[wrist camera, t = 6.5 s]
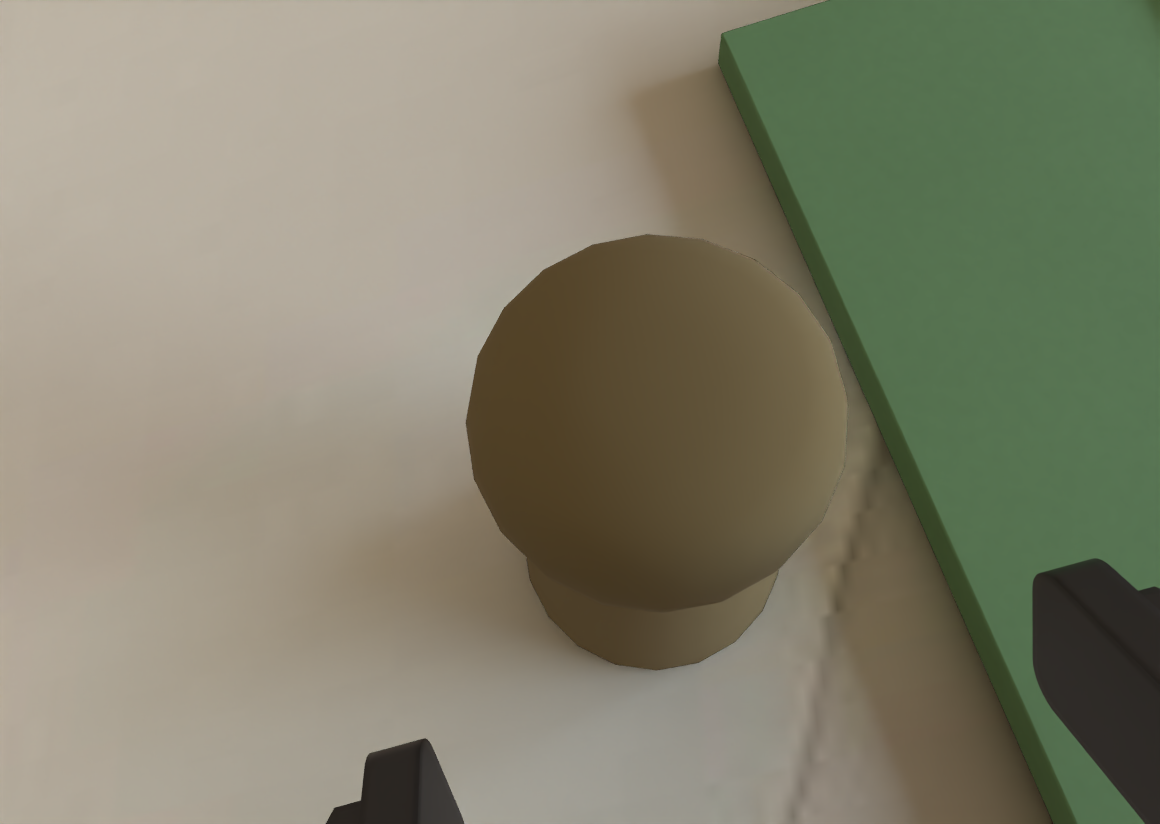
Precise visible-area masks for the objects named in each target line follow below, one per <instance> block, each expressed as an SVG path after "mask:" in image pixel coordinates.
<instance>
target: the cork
mask: <svg viewBox="0 0 1160 824" xmlns="http://www.w3.org/2000/svg"><path fill="white" fill-rule="evenodd" d="M847 418H848V403H847V395H846V391H845V388H844V384H843V381H842V377H841V374H840V370H839V367H838V363H837V360H836V356H835V353H834V349H833V346H832V342H831V340H830V338H829V337H828V336H827V334H826V333H825V331H824V330H823V328H822V327H821V325H820V324H819V322H818V321H817V320H816V318H815V317H814V315H813V314H812V312H811V311H810V309H809V308H808V306H807V305H806V303H805V302H804V301H803V299H802V298H801V296H800V295H799V294H798V293H797V292H796V291H794V290H793V289H792V288H791V287H789V286H788V285H787V284H785V283H784V282H783V281H782V280H780V279H779V278H778V277H777V276H775V275H774V274H773V273H771V272H770V271H769V270H768V269H766V268H765V267H764V266H762V265H761V264H760V263H759V262H757V261H756V260H755V259H752V258H750V257H747V256H744V255H742V254H739V253H737V252H734V251H732V250H729V249H726V248H724V247H721V246H719V245H716V244H714V243H711V242H709V241H706V240H703V239H695V238H683V237H672V236H661V235H650V234H646V235H641V236H635V237H630V238H625V239H620V240H615V241H610V242H604V243H599V244H594V245H591V246H589V247H587V248H585V249H583V250H581V251H579V252H577V253H576V254H574V255H572V256H570V257H568V258H566V259H564V260H562V261H560V262H558V263H556V264H554V265H552V266H550V267H548V268H546V269H544V270H543V271H542V272H541V273H540V274H539V275H538V276H537V277H536V278H535V279H534V280H532V281H531V282H530V283H529V284H528V285H527V286H526V287H525V288H524V289H523V290H522V291H521V292H520V293H519V294H518V295H517V296H516V297H515V298H514V299H513V300H512V301H511V302H510V303H509V304H508V305H507V306H506V307H505V308H504V309H503V311H502V312H501V314H500V316H499V318H498V320H497V322H496V324H495V325H494V327H493V329H492V331H491V333H490V335H489V336H488V338H487V340H486V342H485V344H484V346H483V347H482V349H481V351H480V353H479V355H478V358H477V363H476V369H475V374H474V379H473V385H472V390H471V396H470V401H469V407H468V412H467V419H466V428H467V434H468V441H469V448H470V455H471V462H472V469H473V476H474V480H475V482H476V484H477V486H478V488H479V490H480V492H481V494H482V496H483V498H484V500H485V502H486V504H487V506H488V508H489V509H490V511H491V513H492V515H493V517H494V519H495V521H496V523H497V525H498V527H499V529H500V531H501V532H502V533H503V534H504V535H505V536H506V537H507V538H508V539H509V540H510V541H511V542H512V543H513V544H514V545H515V546H516V547H517V548H518V549H519V550H520V551H521V552H522V553H523V554H524V555H525V556H526V557H527V564H528V570H529V576H530V581H531V583H532V585H533V587H534V589H535V591H536V593H537V595H538V597H539V599H540V601H541V603H542V605H543V606H544V608H545V610H546V612H547V614H548V616H549V617H550V618H551V619H552V620H553V621H554V622H555V623H556V624H557V625H558V626H559V627H560V628H561V629H562V630H563V631H564V632H565V633H566V634H567V635H568V636H569V637H570V638H571V639H572V640H573V641H574V642H575V643H576V644H577V645H578V646H579V647H582V648H584V649H586V650H588V651H590V652H592V653H594V654H596V655H598V656H600V657H602V658H604V659H606V660H608V661H610V662H612V663H614V664H616V665H623V666H630V667H637V668H644V669H652V670H661V669H667V668H672V667H677V666H683V665H688V664H693V663H699V662H700V661H702V660H704V659H706V658H707V657H709V656H711V655H713V654H715V653H716V652H718V651H720V650H722V649H723V648H725V647H727V646H729V645H730V644H732V643H734V642H735V641H736V640H737V639H738V638H739V637H740V636H741V635H742V633H743V632H744V631H745V630H746V629H747V628H748V627H749V626H750V624H751V623H752V622H753V621H754V620H755V619H756V618H757V617H758V615H759V614H760V613H761V612H762V611H763V608H764V606H765V604H766V601H767V599H768V596H769V594H770V592H771V589H772V587H773V585H774V582H775V580H776V577H777V575H778V569H779V568H780V567H781V566H782V565H783V564H784V563H785V562H786V561H787V560H788V559H789V558H790V556H791V555H792V554H793V553H794V552H795V551H796V550H797V549H798V547H799V546H800V545H801V544H802V543H803V542H804V541H805V540H806V539H807V537H808V536H809V535H810V534H811V533H812V532H813V531H814V530H815V528H816V527H817V526H818V525H819V524H820V523H821V522H822V520H823V518H824V515H825V513H826V510H827V508H828V506H829V503H830V501H831V498H832V496H833V494H834V491H835V489H836V486H837V484H838V481H839V479H840V477H841V474H842V472H843V469H844V467H845V456H846V437H847Z"/></svg>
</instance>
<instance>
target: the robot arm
mask: <svg viewBox="0 0 1160 824" xmlns="http://www.w3.org/2000/svg"><path fill="white" fill-rule="evenodd" d="M1032 624H1033V667H1034V672H1035V676H1036V679H1037V682H1038V684H1039V687H1040V689H1041V691H1042V693H1043V695H1044V697H1045V699H1046V701H1047V703H1048V704H1049V706H1050V707H1051V709H1052V710H1053V711H1054V713H1055V714H1056V715H1057V716H1058V717H1059V719H1060V720H1061V721H1062V722H1063V724H1064V725H1065V726H1066V727H1067V729H1068V730H1069V731H1070V732H1071V733H1072V735H1073V736H1074V737H1075V738H1076V740H1077V741H1078V742H1079V743H1080V744H1081V746H1082V747H1083V748H1084V749H1085V751H1086V752H1087V753H1088V754H1089V755H1090V757H1091V758H1092V759H1093V760H1094V762H1095V763H1096V764H1097V765H1098V767H1099V768H1100V769H1101V770H1102V771H1103V773H1104V774H1105V775H1106V776H1107V778H1108V779H1109V780H1110V781H1111V782H1112V784H1113V785H1114V786H1115V787H1116V789H1117V790H1118V791H1119V792H1120V793H1121V795H1122V796H1123V797H1124V798H1125V800H1126V801H1127V802H1128V803H1129V805H1130V806H1131V807H1132V808H1133V809H1134V811H1135V812H1136V813H1137V814H1138V816H1139V817H1140V818H1141V819H1142V820H1143V822H1144V823H1145V824H1160V588H1157V587H1155V586H1153V587H1150V588H1146V589H1142V590H1139V591H1138V590H1137V589H1136V588H1135V587H1133V586H1132V585H1131V584H1130V583H1129V582H1128V581H1127V580H1126V579H1125V578H1123V577H1122V576H1121V575H1120V574H1119V573H1118V572H1117V571H1116V570H1115V569H1113V568H1112V567H1111V566H1110V565H1109V564H1108V563H1106V562H1105V561H1103V560H1101V559H1097V558H1093V559H1089V560H1086V561H1082V562H1078V563H1075V564H1071V565H1067V566H1064V567H1060V568H1056V569H1053V570H1049V571H1045V572H1042V573H1038V574H1037V575H1036V576H1035V578H1034V580H1033V587H1032ZM326 824H464V821H463V818H462V815H461V813H460V811H459V808H458V806H457V804H456V801H455V799H454V796H453V794H452V792H451V789H450V787H449V785H448V782H447V780H446V778H445V775H444V773H443V771H442V768H441V766H440V764H439V761H438V759H437V757H436V754H435V752H434V750H433V748H432V745H431V744H430V742H429V741H428V740H427V739H426V738H425V739H421V740H417V741H413V742H410V743H406V744H402V745H399V746H395V747H391V748H388V749H384V750H380V751H377V752H373V753H370V754H369V755H368V756H367V758H366V762H365V769H364V778H363V788H362V797H361V801H358V802H354V803H350V804H347V805H343V806H339V807H336V808H334V810H333V812H332V813H331V815H330V817H329V819H328V821H327V823H326Z"/></svg>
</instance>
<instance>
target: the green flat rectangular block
mask: <svg viewBox="0 0 1160 824" xmlns="http://www.w3.org/2000/svg"><path fill="white" fill-rule="evenodd" d="M718 64H719V66H720V68H721V70H722V73H723V75H724V77H725V79H726V82H727V84H728V86H729V88H730V91H731V93H732V95H733V98H734V100H735V102H736V104H737V107H738V109H739V111H740V113H741V116H742V118H743V120H744V123H745V125H746V127H747V129H748V132H749V134H750V136H751V138H752V141H753V143H754V145H755V147H756V150H757V152H758V154H759V157H760V159H761V161H762V163H763V166H764V168H765V170H766V172H767V175H768V177H769V179H770V181H771V184H772V186H773V188H774V191H775V193H776V195H777V197H778V200H779V202H780V204H781V206H782V209H783V211H784V213H785V215H786V218H787V220H788V222H789V225H790V227H791V229H792V231H793V234H794V236H795V238H796V240H797V243H798V245H799V247H800V250H801V252H802V254H803V256H804V259H805V261H806V263H807V265H808V268H809V270H810V272H811V274H812V277H813V279H814V281H815V284H816V286H817V288H818V290H819V293H820V295H821V297H822V299H823V302H824V304H825V306H826V308H827V311H828V313H829V315H830V318H831V320H832V322H833V324H834V327H835V329H836V331H837V333H838V336H839V338H840V340H841V343H842V345H843V347H844V349H845V352H846V354H847V356H848V358H849V361H850V363H851V365H852V367H853V370H854V372H855V374H856V377H857V379H858V381H859V383H860V386H861V388H862V390H863V392H864V395H865V397H866V399H867V401H868V404H869V406H870V408H871V411H872V413H873V415H874V417H875V420H876V422H877V424H878V426H879V429H880V431H881V433H882V436H883V438H884V440H885V442H886V445H887V447H888V449H889V451H890V454H891V456H892V458H893V460H894V463H895V465H896V467H897V470H898V472H899V474H900V476H901V479H902V481H903V483H904V485H905V488H906V490H907V492H908V494H909V497H910V499H911V501H912V504H913V506H914V508H915V510H916V513H917V515H918V517H919V519H920V522H921V524H922V526H923V529H924V531H925V533H926V535H927V538H928V540H929V542H930V544H931V547H932V549H933V551H934V553H935V556H936V558H937V560H938V563H939V565H940V567H941V569H942V572H943V574H944V576H945V578H946V581H947V583H948V585H949V587H950V590H951V592H952V594H953V597H954V599H955V601H956V603H957V606H958V608H959V610H960V612H961V615H962V617H963V619H964V622H965V624H966V626H967V628H968V631H969V633H970V635H971V637H972V640H973V642H974V644H975V646H976V649H977V651H978V653H979V656H980V658H981V660H982V662H983V665H984V667H985V669H986V671H987V674H988V676H989V678H990V680H991V683H992V685H993V687H994V690H995V692H996V694H997V696H998V699H999V701H1000V703H1001V705H1002V708H1003V710H1004V712H1005V714H1006V717H1007V719H1008V721H1009V724H1010V726H1011V728H1012V730H1013V733H1014V735H1015V737H1016V739H1017V742H1018V744H1019V746H1020V749H1021V751H1022V753H1023V755H1024V758H1025V760H1026V762H1027V764H1028V767H1029V769H1030V771H1031V773H1032V776H1033V778H1034V780H1035V783H1036V785H1037V787H1038V789H1039V792H1040V794H1041V796H1042V798H1043V801H1044V803H1045V805H1046V807H1047V810H1048V812H1049V814H1050V817H1051V819H1052V821H1053V823H1054V824H1145V823H1144V822H1143V820H1142V819H1141V818H1140V817H1139V816H1138V814H1137V813H1136V812H1135V811H1134V809H1133V808H1132V807H1131V806H1130V805H1129V803H1128V802H1127V801H1126V800H1125V798H1124V797H1123V796H1122V795H1121V793H1120V792H1119V791H1118V790H1117V789H1116V787H1115V786H1114V785H1113V784H1112V782H1111V781H1110V780H1109V779H1108V778H1107V776H1106V775H1105V774H1104V773H1103V771H1102V770H1101V769H1100V768H1099V767H1098V765H1097V764H1096V763H1095V762H1094V760H1093V759H1092V758H1091V757H1090V755H1089V754H1088V753H1087V752H1086V751H1085V749H1084V748H1083V747H1082V746H1081V744H1080V743H1079V742H1078V741H1077V740H1076V738H1075V737H1074V736H1073V735H1072V733H1071V732H1070V731H1069V730H1068V729H1067V727H1066V726H1065V725H1064V724H1063V722H1062V721H1061V720H1060V719H1059V717H1058V716H1057V715H1056V714H1055V713H1054V711H1053V710H1052V709H1051V707H1050V706H1049V704H1048V703H1047V701H1046V699H1045V697H1044V695H1043V693H1042V691H1041V689H1040V687H1039V684H1038V682H1037V679H1036V676H1035V672H1034V667H1033V624H1032V587H1033V580H1034V578H1035V576H1036V575H1037V574H1038V573H1042V572H1045V571H1049V570H1053V569H1056V568H1060V567H1064V566H1067V565H1071V564H1075V563H1078V562H1082V561H1086V560H1089V559H1093V558H1097V559H1101V560H1103V561H1105V562H1106V563H1108V564H1109V565H1110V566H1111V567H1112V568H1113V569H1115V570H1116V571H1117V572H1118V573H1119V574H1120V575H1121V576H1122V577H1123V578H1125V579H1126V580H1127V581H1128V582H1129V583H1130V584H1131V585H1132V586H1133V587H1135V588H1136V589H1137V590H1138V591H1139V590H1142V589H1146V588H1150V587H1153V586H1155V587H1157V588H1160V0H828V1H825V2H821V3H818V4H815V5H812V6H808V7H805V8H802V9H799V10H796V11H792V12H789V13H786V14H783V15H779V16H776V17H773V18H770V19H766V20H763V21H760V22H757V23H753V24H750V25H747V26H744V27H740V28H737V29H734V30H731V31H728V32H724V33H722V34H721V42H720V51H719V60H718Z"/></svg>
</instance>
